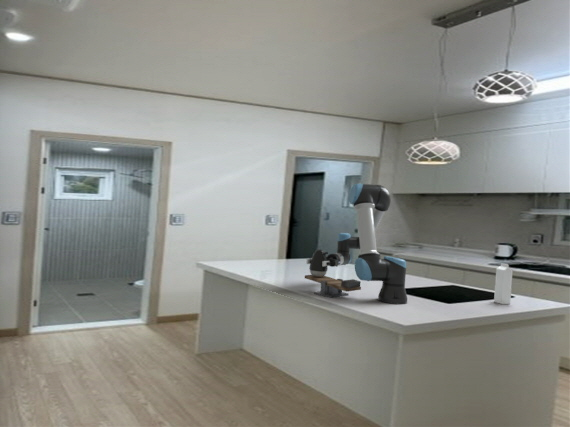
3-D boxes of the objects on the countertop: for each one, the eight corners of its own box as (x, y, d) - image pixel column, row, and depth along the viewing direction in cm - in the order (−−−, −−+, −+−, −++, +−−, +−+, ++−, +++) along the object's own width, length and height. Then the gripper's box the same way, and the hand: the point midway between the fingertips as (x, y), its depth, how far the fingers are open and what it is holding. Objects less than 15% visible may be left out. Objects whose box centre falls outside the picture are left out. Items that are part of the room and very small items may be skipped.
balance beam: (360, 289, 253) (361, 281, 253) (346, 291, 245) (347, 283, 244) (318, 276, 274) (319, 268, 274) (304, 278, 266) (305, 270, 266)
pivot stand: (348, 295, 261) (349, 280, 261) (330, 298, 250) (331, 282, 250) (331, 291, 269) (332, 277, 269) (313, 293, 259) (314, 279, 258)
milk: (501, 304, 262) (504, 264, 261) (493, 301, 267) (496, 262, 267) (510, 304, 263) (513, 264, 263) (502, 301, 269) (505, 262, 269)
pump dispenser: (320, 278, 260) (323, 251, 259) (305, 275, 266) (307, 248, 265) (330, 276, 268) (332, 250, 267) (315, 273, 274) (317, 247, 273)
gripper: (351, 268, 275) (331, 272, 257) (318, 263, 288) (297, 266, 270) (352, 255, 275) (332, 258, 256) (319, 251, 288) (298, 253, 269)
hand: (314, 262), depth 263 cm, fingers closed on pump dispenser, 10 cm apart
